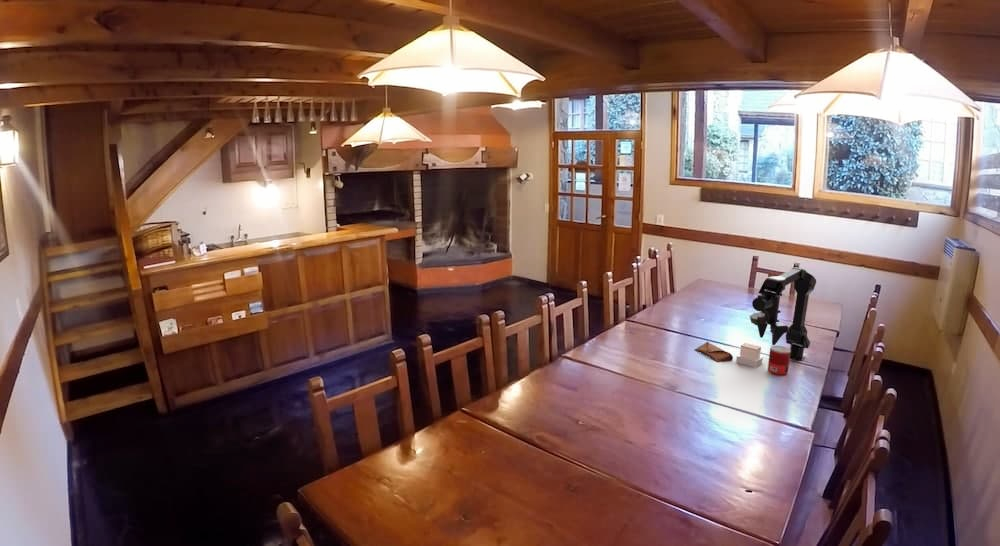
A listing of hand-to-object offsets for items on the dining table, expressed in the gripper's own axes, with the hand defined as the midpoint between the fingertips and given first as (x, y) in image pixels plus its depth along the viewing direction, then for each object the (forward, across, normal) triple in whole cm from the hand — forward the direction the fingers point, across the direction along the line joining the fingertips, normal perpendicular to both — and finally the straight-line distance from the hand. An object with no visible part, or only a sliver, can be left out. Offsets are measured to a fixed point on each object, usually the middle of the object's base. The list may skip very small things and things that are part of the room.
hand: (767, 341), depth 257 cm
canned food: (+14, +3, +4) cm, 15 cm away
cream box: (+10, -8, -2) cm, 14 cm away
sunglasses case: (+14, -20, -14) cm, 28 cm away
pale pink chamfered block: (+14, -8, -2) cm, 16 cm away
